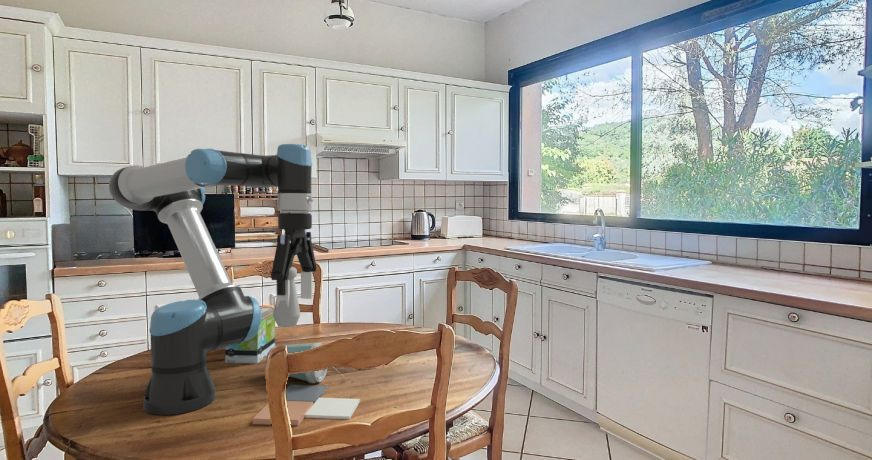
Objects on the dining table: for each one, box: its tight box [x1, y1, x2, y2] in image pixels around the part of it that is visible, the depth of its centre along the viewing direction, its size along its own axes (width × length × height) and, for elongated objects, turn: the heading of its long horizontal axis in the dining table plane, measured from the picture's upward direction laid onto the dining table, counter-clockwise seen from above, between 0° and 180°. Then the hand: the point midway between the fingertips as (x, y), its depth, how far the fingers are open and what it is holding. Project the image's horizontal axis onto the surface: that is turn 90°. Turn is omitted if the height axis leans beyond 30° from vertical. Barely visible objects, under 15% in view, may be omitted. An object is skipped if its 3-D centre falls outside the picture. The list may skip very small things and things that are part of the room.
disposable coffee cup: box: [265, 342, 328, 384], centre depth 133 cm, size 11×11×15 cm
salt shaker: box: [273, 266, 301, 328], centre depth 110 cm, size 6×6×13 cm
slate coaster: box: [285, 384, 329, 404], centre depth 123 cm, size 10×10×1 cm
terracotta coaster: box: [252, 401, 313, 426], centre depth 111 cm, size 10×10×1 cm
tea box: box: [224, 307, 276, 364], centre depth 151 cm, size 15×10×15 cm, turn 179°
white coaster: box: [304, 397, 361, 420], centre depth 114 cm, size 10×10×1 cm
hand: (295, 303), depth 115 cm, fingers open, 13 cm apart
